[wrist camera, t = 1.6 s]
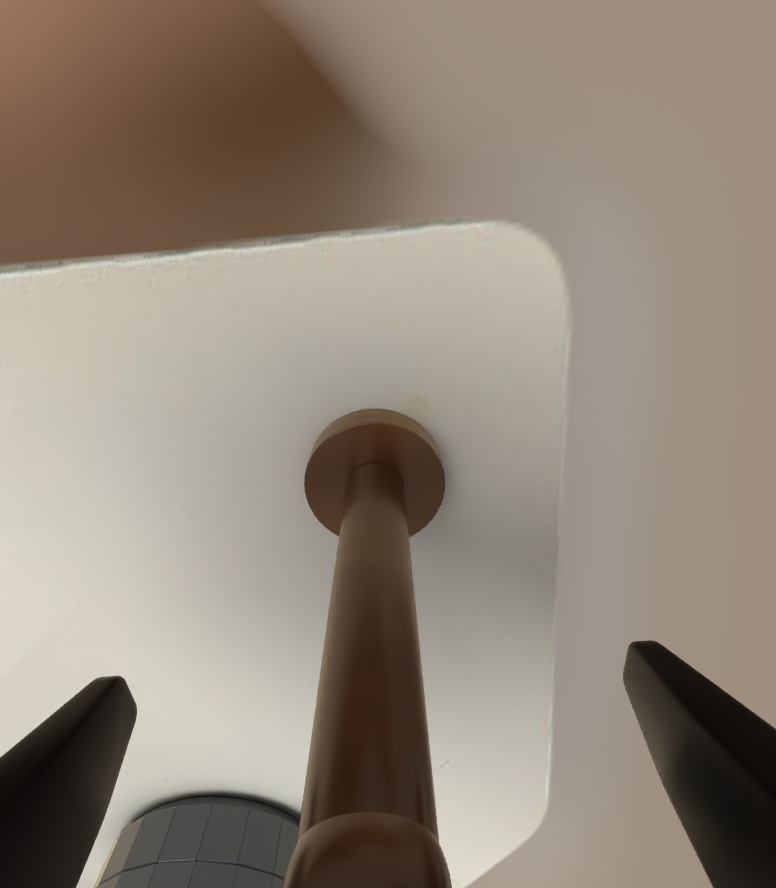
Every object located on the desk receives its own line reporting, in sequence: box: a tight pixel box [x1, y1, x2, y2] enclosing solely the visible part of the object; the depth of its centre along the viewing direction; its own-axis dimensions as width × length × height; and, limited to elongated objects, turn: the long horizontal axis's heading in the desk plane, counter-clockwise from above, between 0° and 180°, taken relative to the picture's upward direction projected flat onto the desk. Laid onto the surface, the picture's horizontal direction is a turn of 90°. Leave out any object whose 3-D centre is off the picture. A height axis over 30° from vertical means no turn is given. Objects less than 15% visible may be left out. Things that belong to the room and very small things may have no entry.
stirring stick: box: [282, 409, 452, 888], centre depth 10 cm, size 4×4×12 cm
